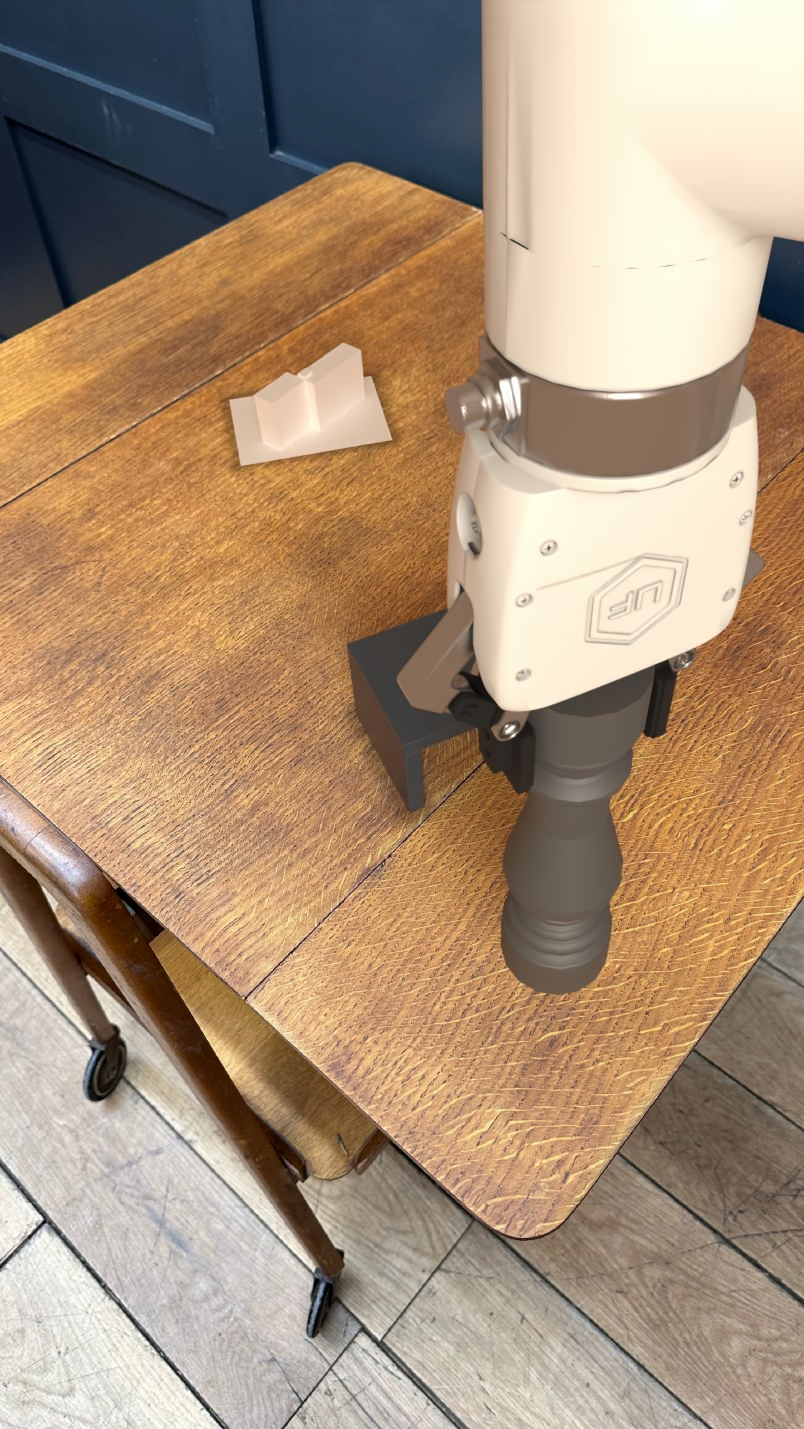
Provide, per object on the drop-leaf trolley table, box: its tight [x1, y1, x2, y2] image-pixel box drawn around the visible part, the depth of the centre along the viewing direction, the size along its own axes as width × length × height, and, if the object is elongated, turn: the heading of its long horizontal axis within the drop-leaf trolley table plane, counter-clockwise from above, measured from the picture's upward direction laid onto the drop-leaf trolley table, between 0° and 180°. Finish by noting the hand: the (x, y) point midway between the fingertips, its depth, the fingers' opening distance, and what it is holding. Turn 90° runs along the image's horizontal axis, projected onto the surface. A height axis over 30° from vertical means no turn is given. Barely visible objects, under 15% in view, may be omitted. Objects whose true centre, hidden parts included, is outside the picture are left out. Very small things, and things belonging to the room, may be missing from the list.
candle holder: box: [500, 665, 655, 996], centre depth 50 cm, size 6×6×25 cm
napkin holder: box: [229, 342, 393, 467], centre depth 100 cm, size 15×11×6 cm
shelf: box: [346, 607, 478, 814], centre depth 75 cm, size 20×10×8 cm, turn 114°
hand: (574, 738), depth 45 cm, fingers closed on candle holder, 5 cm apart
